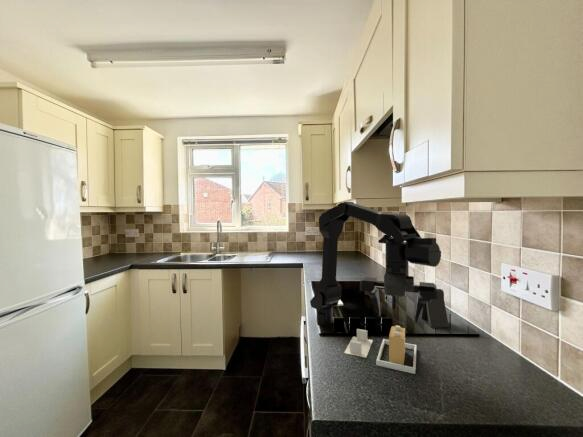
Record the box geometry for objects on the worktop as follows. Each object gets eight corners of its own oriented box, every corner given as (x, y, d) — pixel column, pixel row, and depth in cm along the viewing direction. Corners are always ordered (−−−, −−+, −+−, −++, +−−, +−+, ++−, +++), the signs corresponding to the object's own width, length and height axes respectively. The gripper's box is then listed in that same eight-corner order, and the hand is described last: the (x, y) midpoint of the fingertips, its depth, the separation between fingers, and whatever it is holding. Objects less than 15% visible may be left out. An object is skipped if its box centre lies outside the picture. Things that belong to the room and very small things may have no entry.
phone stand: (419, 318, 101) (419, 286, 101) (435, 318, 101) (435, 286, 101) (431, 328, 92) (431, 293, 92) (448, 328, 92) (448, 293, 92)
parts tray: (383, 345, 80) (383, 338, 80) (416, 352, 76) (416, 345, 76) (376, 368, 69) (376, 360, 69) (415, 377, 65) (415, 368, 65)
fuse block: (353, 338, 85) (353, 326, 85) (372, 342, 82) (372, 330, 82) (343, 355, 75) (343, 341, 75) (366, 360, 72) (366, 346, 72)
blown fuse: (391, 350, 76) (391, 323, 76) (405, 353, 75) (405, 325, 75) (389, 363, 70) (389, 333, 70) (403, 366, 69) (403, 335, 68)
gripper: (355, 263, 69) (355, 324, 69) (438, 269, 61) (438, 338, 61) (363, 257, 79) (363, 310, 79) (435, 261, 71) (436, 320, 71)
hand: (397, 319), depth 72 cm, fingers open, 9 cm apart
